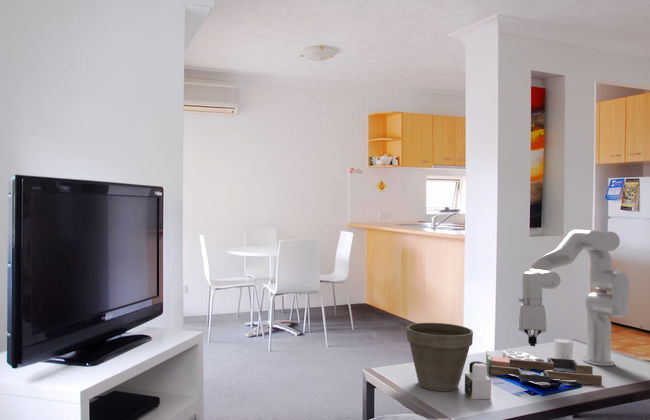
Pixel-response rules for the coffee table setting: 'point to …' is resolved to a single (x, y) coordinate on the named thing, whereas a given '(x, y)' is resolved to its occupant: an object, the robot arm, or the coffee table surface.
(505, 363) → the salmon pink square block
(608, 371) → the coffee table surface
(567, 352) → the white cup
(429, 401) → the coffee table surface
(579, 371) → the channel
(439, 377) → the plant pot
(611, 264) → the robot arm
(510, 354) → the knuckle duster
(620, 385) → the coffee table surface
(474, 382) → the medicine bottle
